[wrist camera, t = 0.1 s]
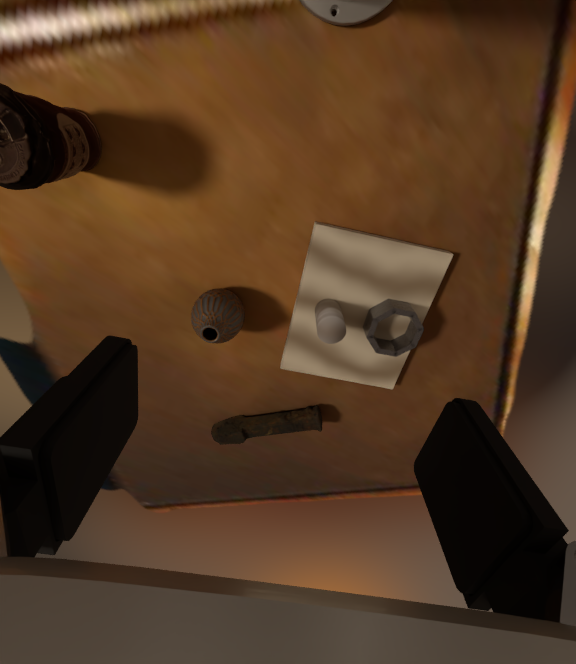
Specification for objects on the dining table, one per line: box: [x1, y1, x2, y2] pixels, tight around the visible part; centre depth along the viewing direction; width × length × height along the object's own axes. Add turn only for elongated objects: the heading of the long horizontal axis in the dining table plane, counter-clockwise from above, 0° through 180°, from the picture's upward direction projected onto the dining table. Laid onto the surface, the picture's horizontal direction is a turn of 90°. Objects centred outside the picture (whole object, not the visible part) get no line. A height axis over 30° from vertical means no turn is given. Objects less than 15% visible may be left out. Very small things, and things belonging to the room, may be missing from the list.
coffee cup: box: [0, 83, 101, 190], centre depth 34 cm, size 9×8×13 cm
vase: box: [191, 289, 245, 343], centre depth 45 cm, size 7×7×9 cm
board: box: [280, 221, 454, 389], centre depth 46 cm, size 22×18×8 cm
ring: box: [363, 299, 424, 357], centre depth 47 cm, size 7×7×3 cm
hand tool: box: [211, 405, 322, 444], centre depth 57 cm, size 19×4×5 cm, turn 98°
